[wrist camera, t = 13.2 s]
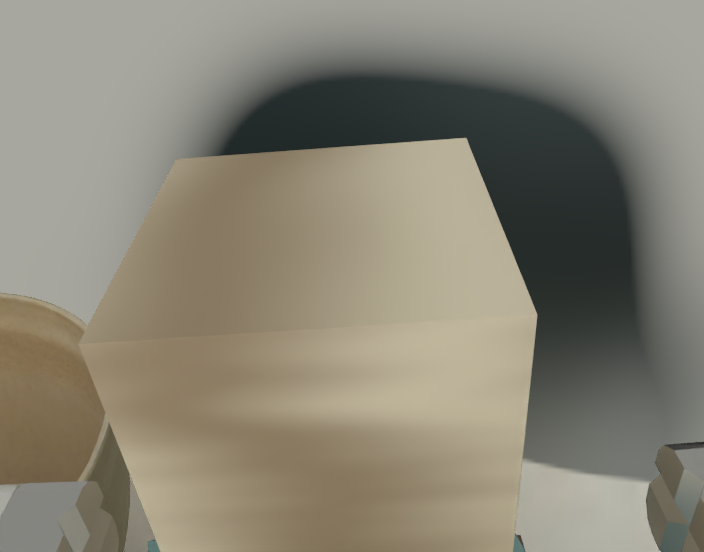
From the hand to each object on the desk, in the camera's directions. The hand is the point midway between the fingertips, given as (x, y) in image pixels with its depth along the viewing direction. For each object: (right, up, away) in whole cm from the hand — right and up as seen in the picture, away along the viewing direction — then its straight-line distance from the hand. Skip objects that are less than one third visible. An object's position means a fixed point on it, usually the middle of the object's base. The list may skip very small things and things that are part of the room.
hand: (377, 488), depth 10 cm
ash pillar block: (0, -6, +6) cm, 9 cm away
